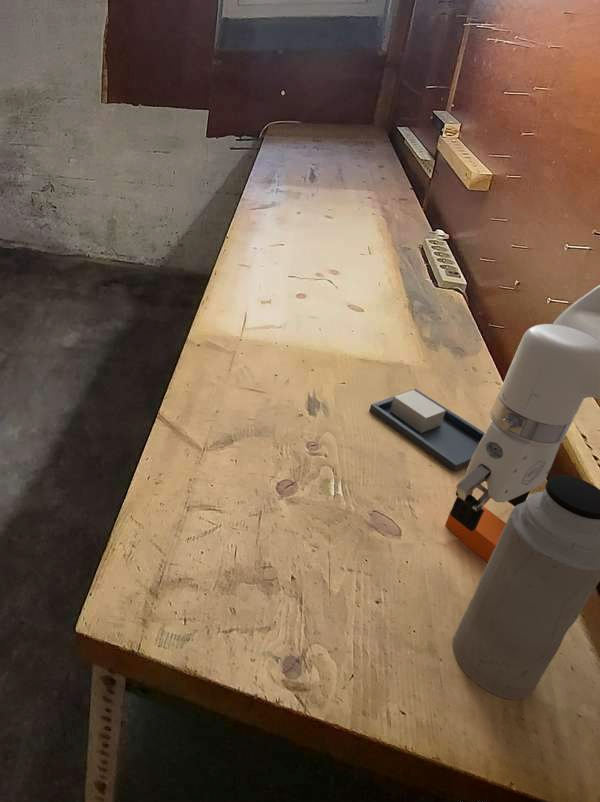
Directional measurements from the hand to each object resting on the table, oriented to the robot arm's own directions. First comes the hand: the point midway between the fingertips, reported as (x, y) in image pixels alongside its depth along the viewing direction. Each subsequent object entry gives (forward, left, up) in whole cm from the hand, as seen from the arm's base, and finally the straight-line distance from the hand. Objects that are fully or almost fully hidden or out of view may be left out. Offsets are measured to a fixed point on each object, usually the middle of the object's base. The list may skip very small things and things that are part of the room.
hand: (485, 511), depth 79 cm
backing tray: (-14, -18, -6) cm, 24 cm away
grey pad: (-14, -21, -5) cm, 26 cm away
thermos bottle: (+15, +12, -6) cm, 20 cm away
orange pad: (0, 0, -6) cm, 6 cm away
